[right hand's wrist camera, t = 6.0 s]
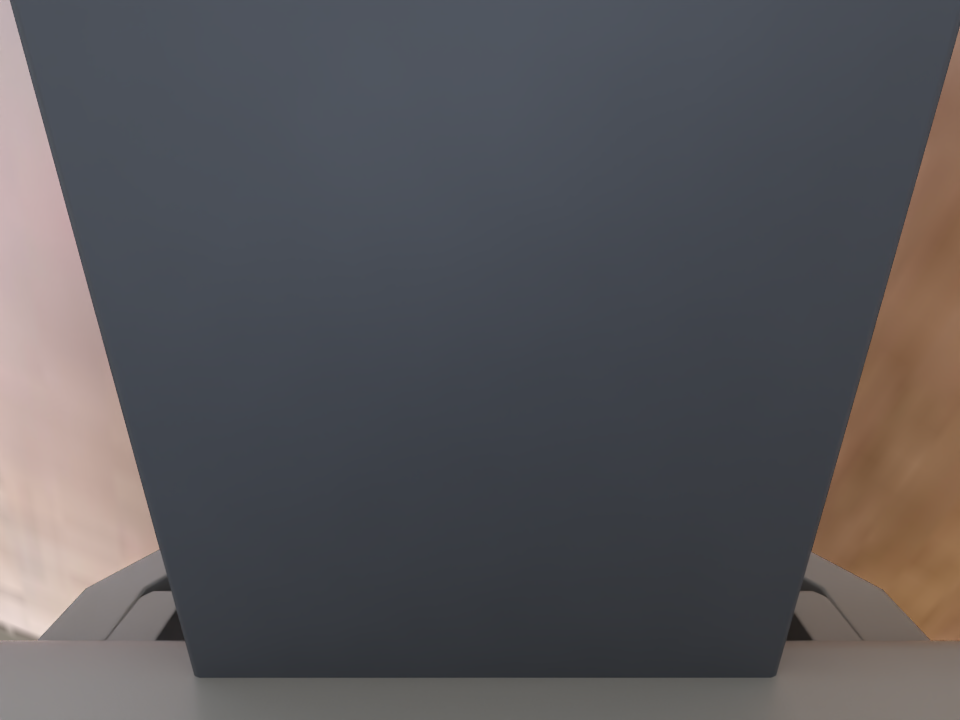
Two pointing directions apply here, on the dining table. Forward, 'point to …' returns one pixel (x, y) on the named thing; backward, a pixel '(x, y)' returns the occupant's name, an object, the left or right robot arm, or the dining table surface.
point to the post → (486, 311)
